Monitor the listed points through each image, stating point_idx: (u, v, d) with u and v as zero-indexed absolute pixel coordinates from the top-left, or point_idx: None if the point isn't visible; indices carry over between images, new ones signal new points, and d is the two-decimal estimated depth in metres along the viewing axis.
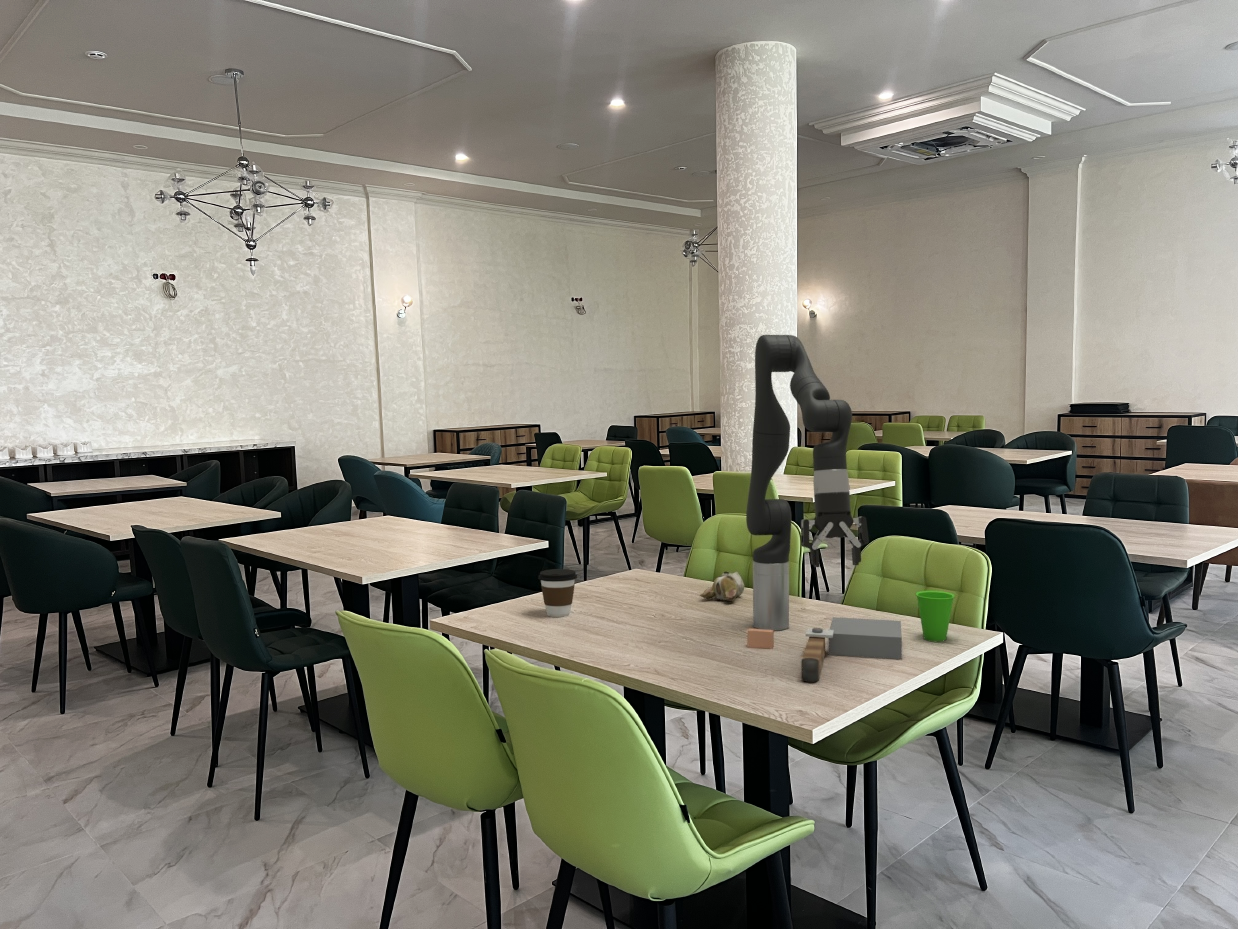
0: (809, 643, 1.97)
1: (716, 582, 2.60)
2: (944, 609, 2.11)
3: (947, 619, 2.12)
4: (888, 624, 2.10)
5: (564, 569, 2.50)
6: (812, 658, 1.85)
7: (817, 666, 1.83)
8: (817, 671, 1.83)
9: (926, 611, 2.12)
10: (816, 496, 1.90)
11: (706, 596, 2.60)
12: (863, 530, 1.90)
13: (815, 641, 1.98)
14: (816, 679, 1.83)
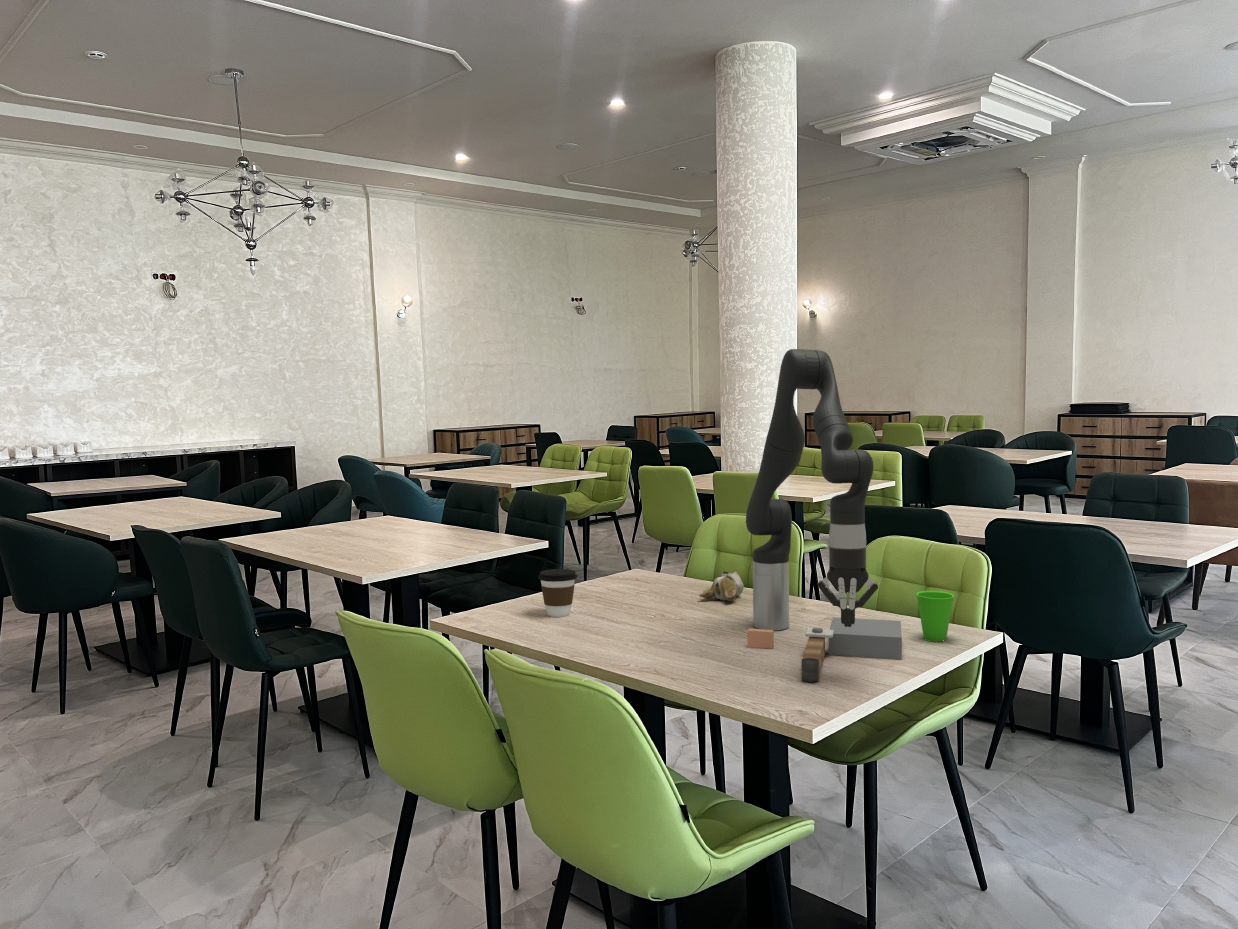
0: (809, 643, 1.97)
1: (715, 582, 2.60)
2: (944, 609, 2.11)
3: (947, 619, 2.12)
4: (888, 624, 2.10)
5: (564, 569, 2.50)
6: (812, 658, 1.85)
7: (817, 666, 1.83)
8: (817, 671, 1.83)
9: (926, 611, 2.12)
10: (829, 549, 1.86)
11: (705, 596, 2.60)
12: (866, 594, 1.84)
13: (815, 641, 1.98)
14: (816, 679, 1.83)
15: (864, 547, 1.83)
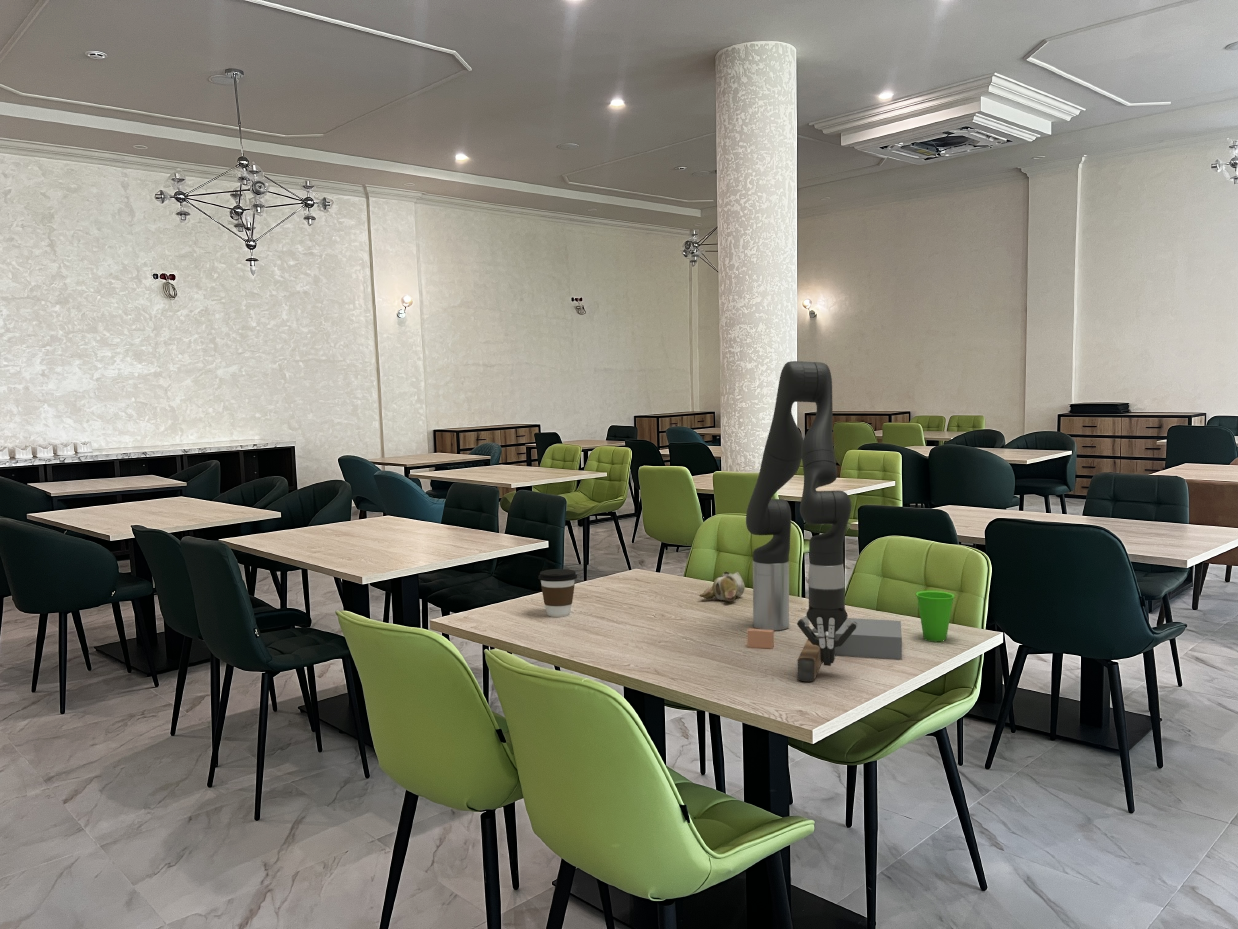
0: (808, 643, 1.97)
1: (716, 582, 2.60)
2: (944, 609, 2.11)
3: (947, 619, 2.12)
4: (888, 624, 2.10)
5: (564, 569, 2.50)
6: (809, 658, 1.85)
7: (813, 666, 1.83)
8: (813, 671, 1.83)
9: (926, 611, 2.12)
10: None
11: (706, 596, 2.60)
12: (844, 634, 1.86)
13: None
14: (812, 679, 1.83)
15: (842, 587, 1.85)
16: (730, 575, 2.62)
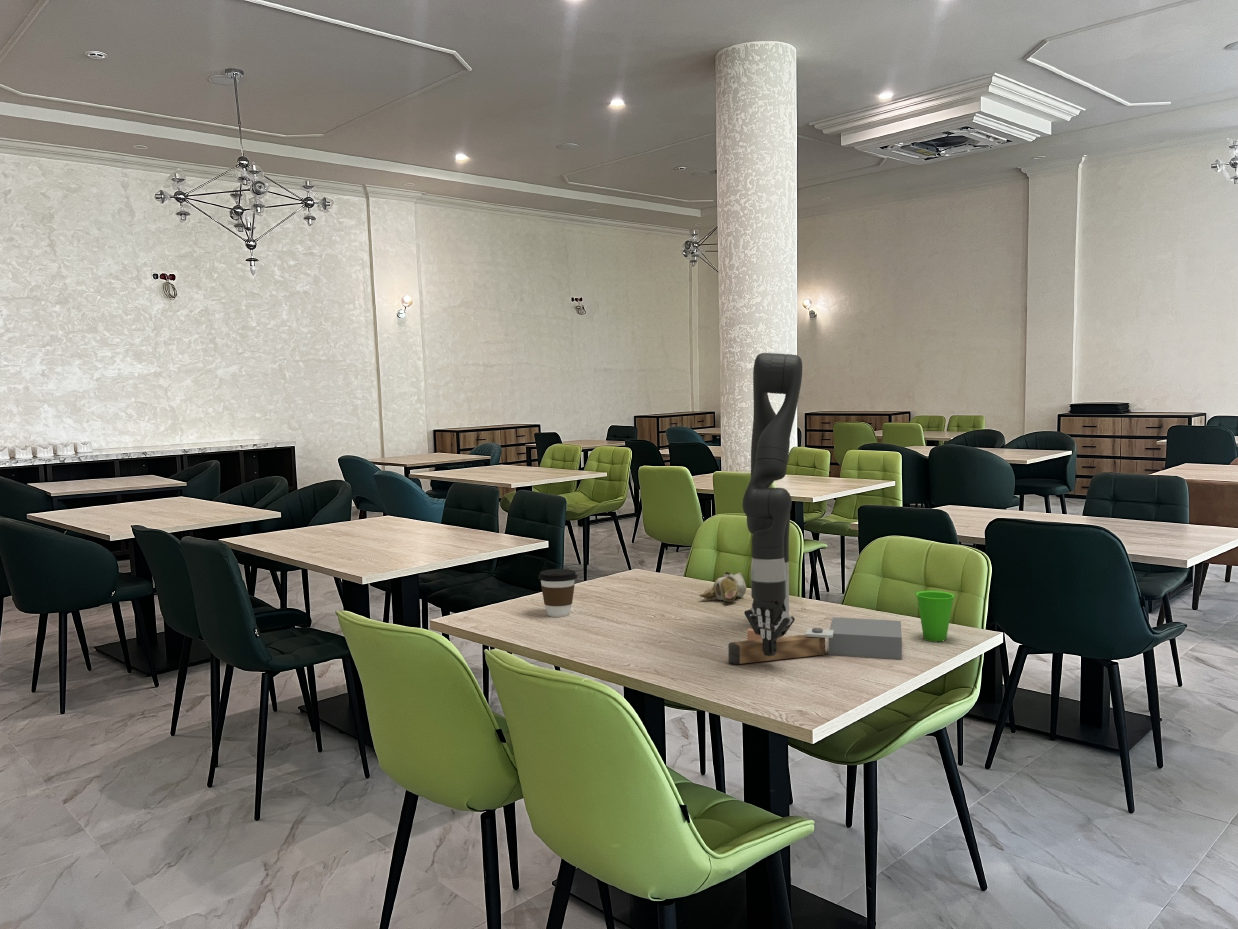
0: (786, 637, 2.02)
1: (716, 582, 2.60)
2: (944, 609, 2.11)
3: (947, 619, 2.12)
4: (888, 624, 2.10)
5: (564, 569, 2.50)
6: (742, 644, 1.97)
7: (736, 650, 1.96)
8: (736, 655, 1.96)
9: (926, 611, 2.12)
10: None
11: (706, 596, 2.60)
12: (779, 626, 1.92)
13: (797, 637, 2.02)
14: (735, 662, 1.96)
15: (776, 581, 1.91)
16: (731, 575, 2.61)
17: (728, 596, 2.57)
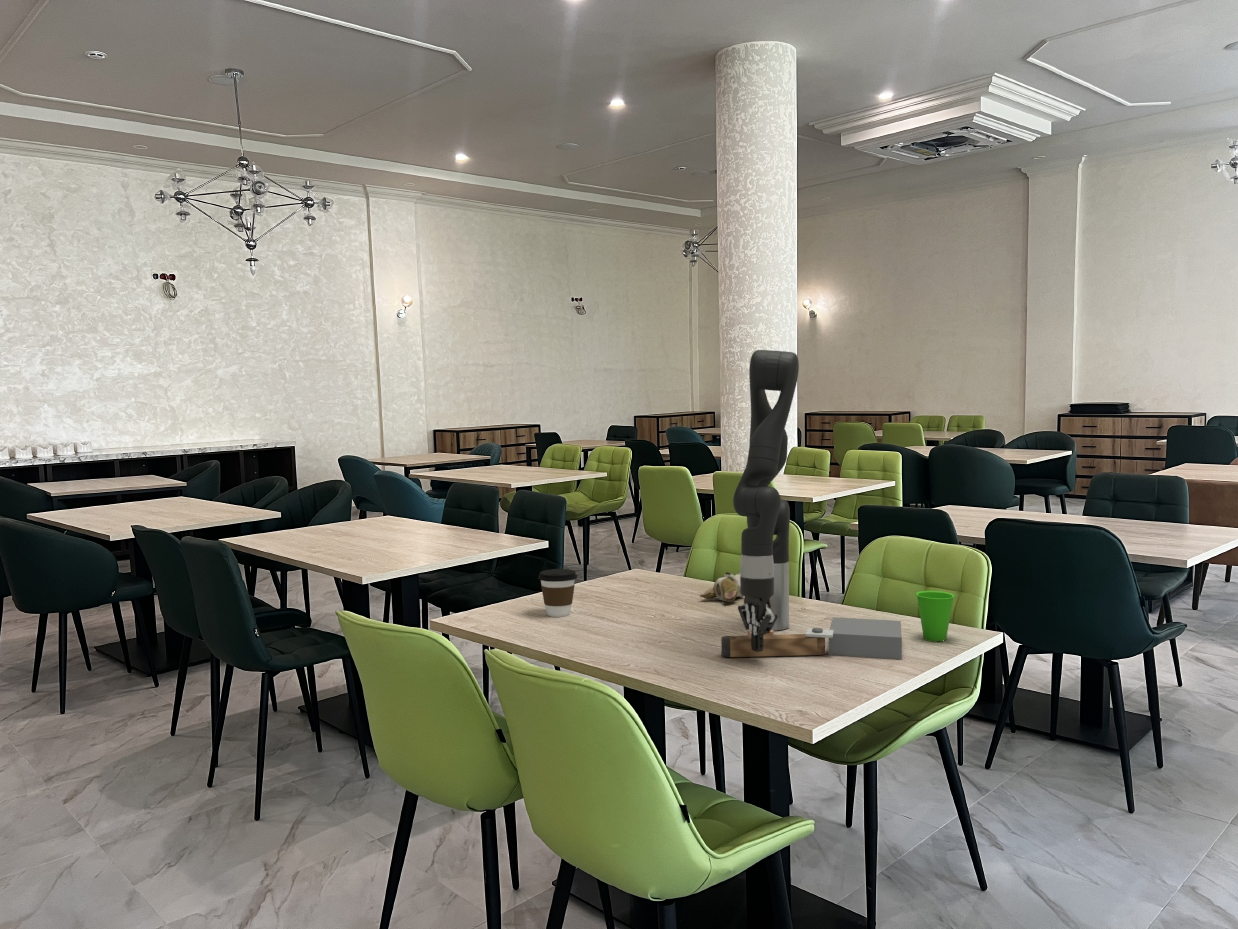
0: (784, 635, 2.04)
1: (716, 583, 2.59)
2: (944, 609, 2.11)
3: (947, 619, 2.12)
4: (888, 624, 2.10)
5: (564, 569, 2.50)
6: (734, 638, 2.02)
7: (727, 643, 2.01)
8: (727, 648, 2.01)
9: (926, 611, 2.12)
10: None
11: (706, 596, 2.59)
12: (762, 623, 1.95)
13: (794, 636, 2.03)
14: (725, 655, 2.01)
15: (760, 578, 1.95)
16: (731, 576, 2.61)
17: (728, 596, 2.57)
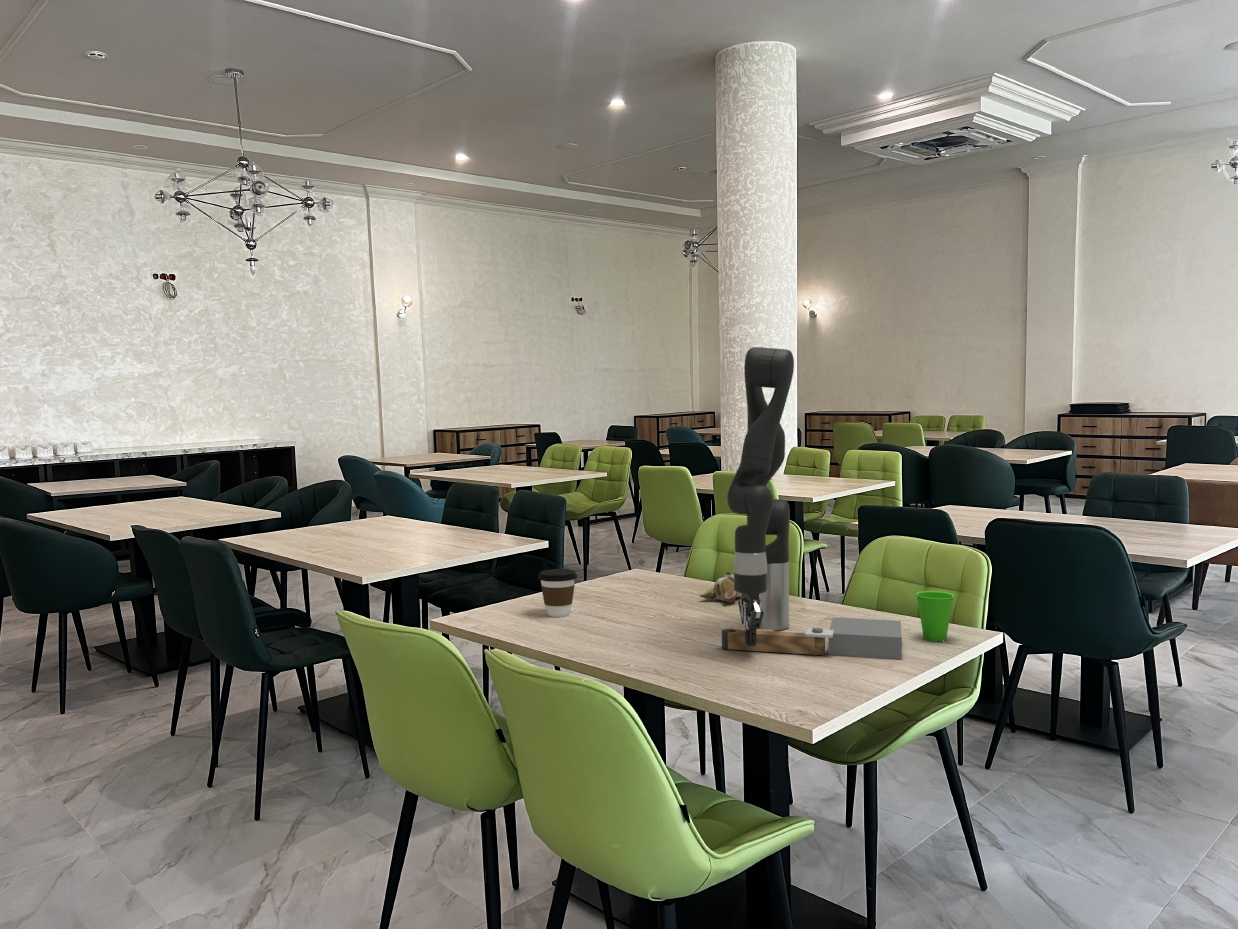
0: (786, 632, 2.07)
1: (716, 583, 2.59)
2: (944, 609, 2.11)
3: (947, 619, 2.12)
4: (888, 624, 2.10)
5: (564, 569, 2.50)
6: (733, 631, 2.08)
7: (725, 636, 2.08)
8: (725, 640, 2.08)
9: (926, 611, 2.12)
10: None
11: (706, 597, 2.59)
12: (750, 618, 2.00)
13: (794, 634, 2.05)
14: (724, 646, 2.08)
15: (749, 575, 2.00)
16: (732, 576, 2.61)
17: (728, 596, 2.56)
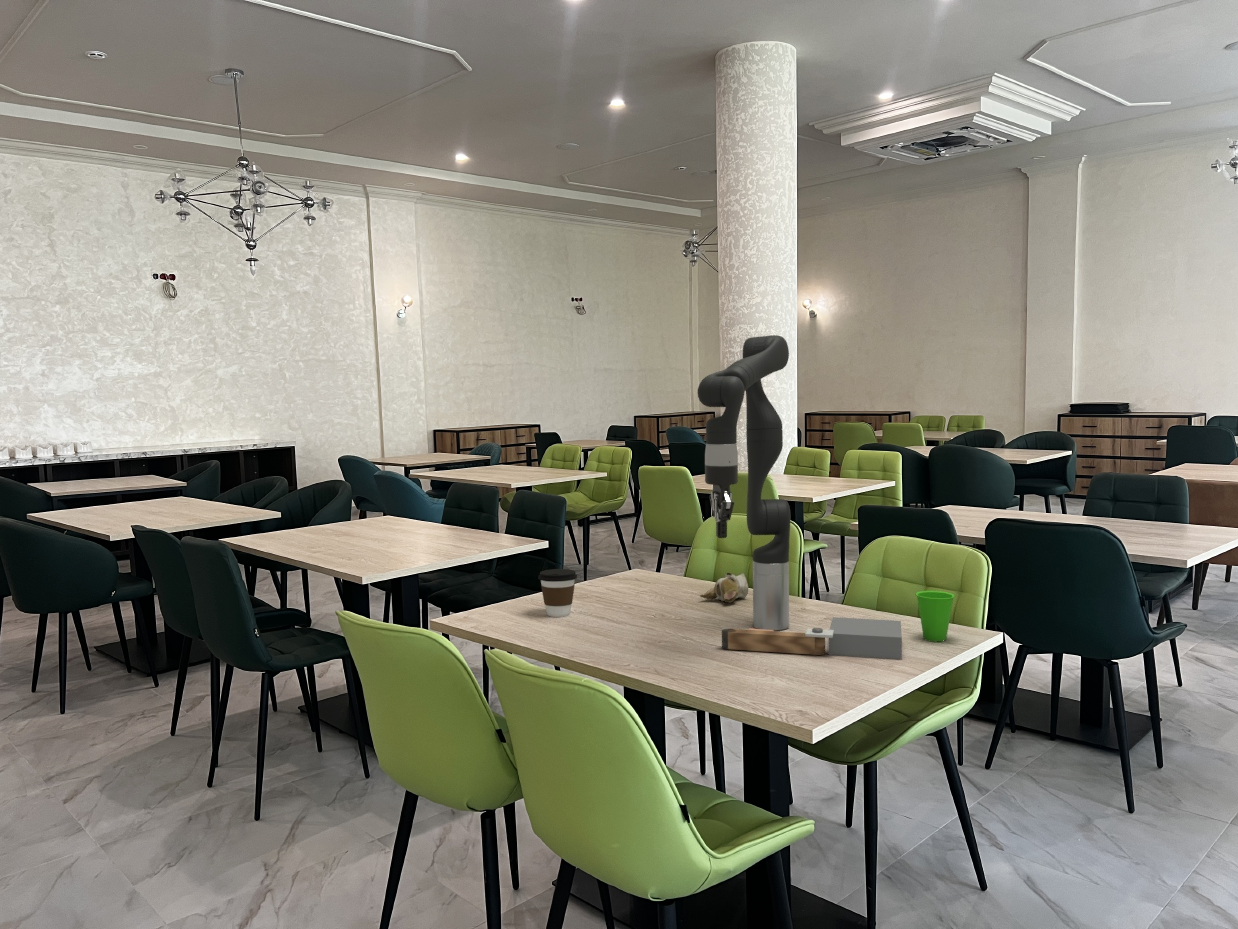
0: (786, 632, 2.07)
1: (717, 583, 2.59)
2: (944, 609, 2.11)
3: (947, 619, 2.12)
4: (888, 624, 2.10)
5: (564, 569, 2.50)
6: (733, 631, 2.08)
7: (725, 636, 2.08)
8: (725, 640, 2.08)
9: (926, 611, 2.12)
10: None
11: (706, 597, 2.59)
12: (720, 509, 2.00)
13: (794, 634, 2.05)
14: (724, 646, 2.08)
15: (719, 466, 2.00)
16: (732, 576, 2.60)
17: (728, 597, 2.56)
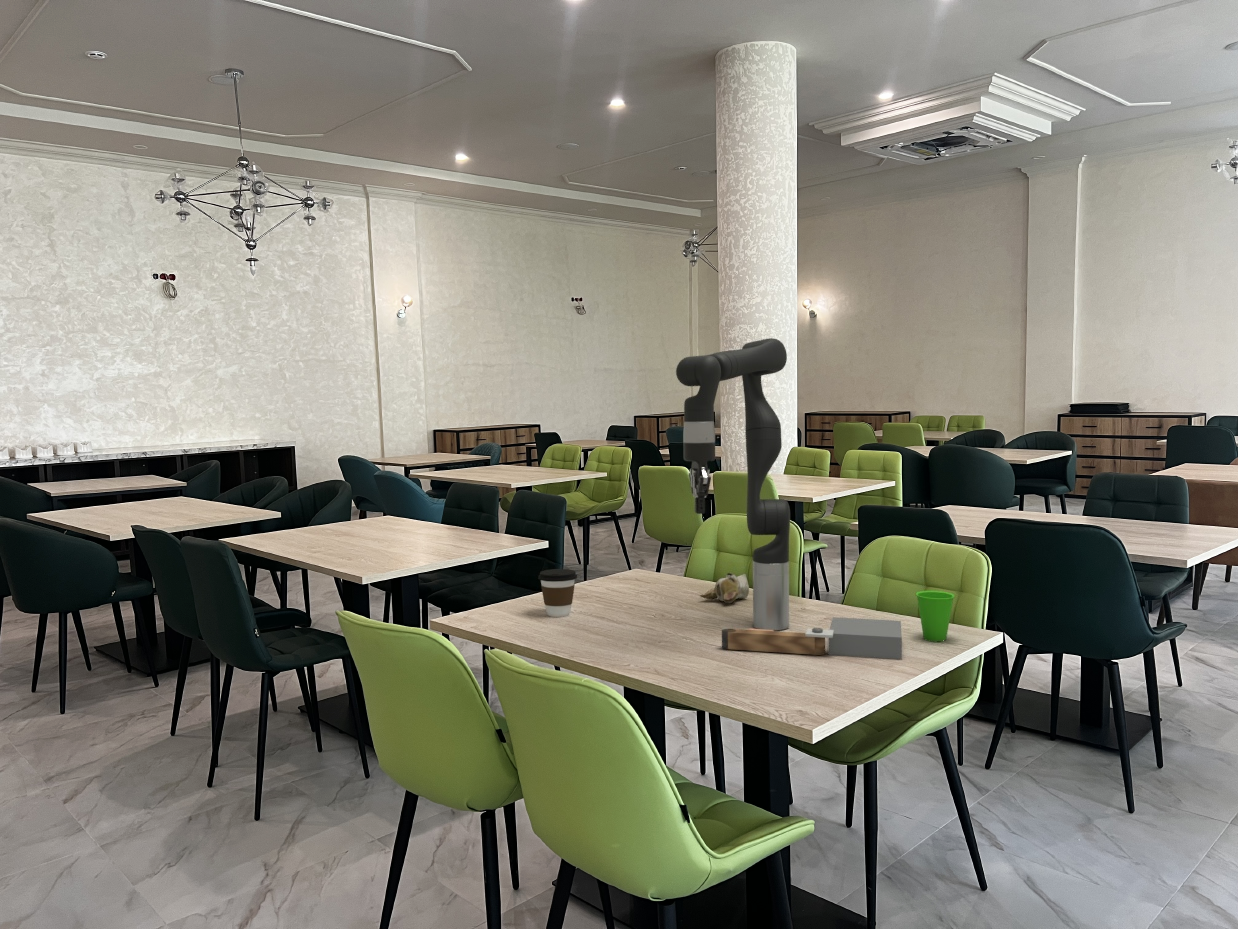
0: (786, 632, 2.07)
1: (717, 583, 2.59)
2: (944, 609, 2.11)
3: (947, 619, 2.12)
4: (888, 624, 2.10)
5: (564, 569, 2.50)
6: (733, 631, 2.08)
7: (725, 636, 2.08)
8: (725, 640, 2.08)
9: (926, 611, 2.12)
10: None
11: (706, 597, 2.59)
12: (698, 484, 2.06)
13: (794, 634, 2.05)
14: (724, 646, 2.08)
15: (697, 442, 2.06)
16: (733, 576, 2.59)
17: (727, 597, 2.55)
